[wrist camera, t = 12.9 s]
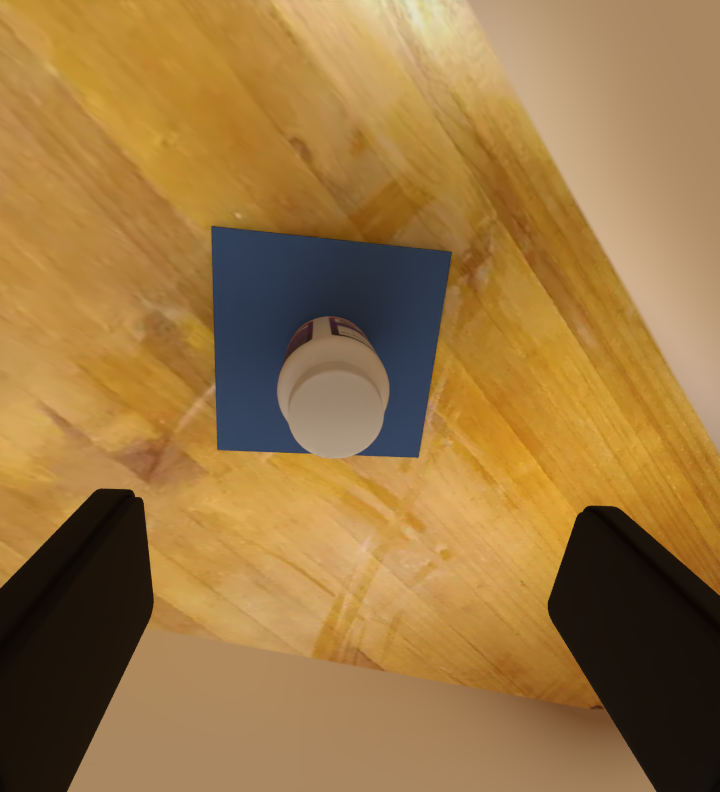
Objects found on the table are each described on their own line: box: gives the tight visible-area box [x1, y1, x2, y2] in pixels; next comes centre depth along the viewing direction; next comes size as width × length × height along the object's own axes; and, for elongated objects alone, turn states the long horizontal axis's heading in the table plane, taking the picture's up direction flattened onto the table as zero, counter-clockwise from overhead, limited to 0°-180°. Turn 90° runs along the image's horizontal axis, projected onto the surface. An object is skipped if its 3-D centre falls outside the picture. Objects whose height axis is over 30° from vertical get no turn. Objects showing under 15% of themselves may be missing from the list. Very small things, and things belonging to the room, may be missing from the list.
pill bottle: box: [277, 316, 389, 459], centre depth 21 cm, size 5×5×10 cm
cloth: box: [211, 226, 452, 458], centre depth 25 cm, size 14×14×1 cm
